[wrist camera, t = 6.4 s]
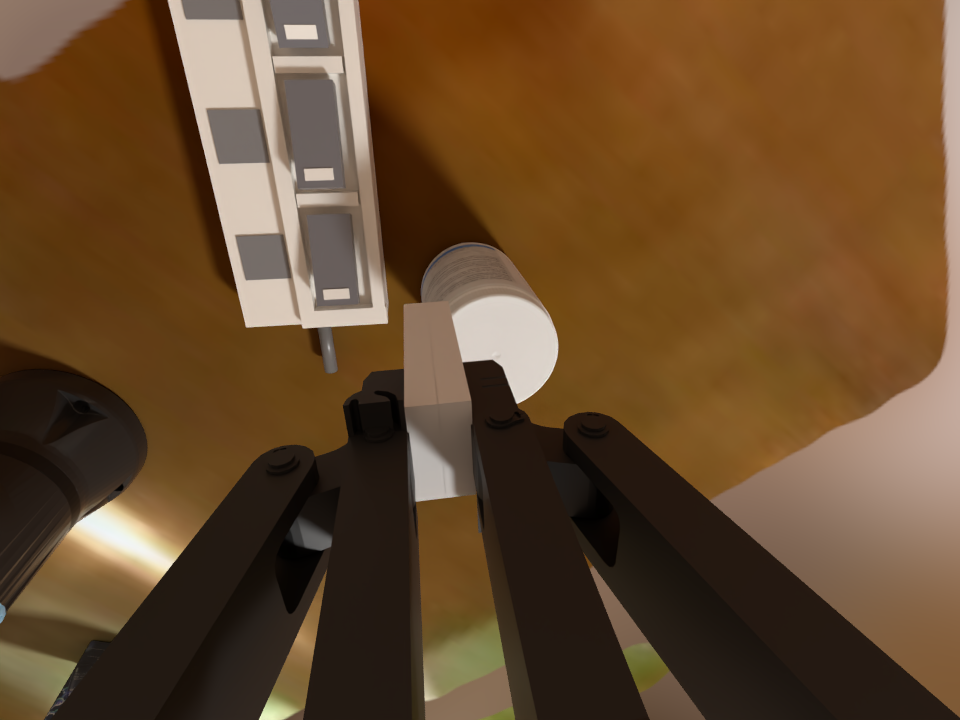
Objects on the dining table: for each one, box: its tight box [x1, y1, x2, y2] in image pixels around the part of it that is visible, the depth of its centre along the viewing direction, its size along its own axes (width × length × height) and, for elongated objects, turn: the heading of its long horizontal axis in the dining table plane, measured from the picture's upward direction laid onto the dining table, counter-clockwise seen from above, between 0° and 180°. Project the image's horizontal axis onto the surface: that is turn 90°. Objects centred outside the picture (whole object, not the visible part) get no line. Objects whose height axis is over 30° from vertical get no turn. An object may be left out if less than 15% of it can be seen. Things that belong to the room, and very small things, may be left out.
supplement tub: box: [421, 242, 558, 404], centre depth 42 cm, size 10×10×15 cm
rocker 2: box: [284, 80, 346, 190], centre depth 36 cm, size 3×7×2 cm, turn 1°
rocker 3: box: [307, 213, 360, 307], centre depth 40 cm, size 3×7×2 cm, turn 1°
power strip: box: [168, 0, 388, 373], centre depth 40 cm, size 12×36×5 cm, turn 1°
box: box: [44, 640, 110, 720], centre depth 60 cm, size 8×6×11 cm
